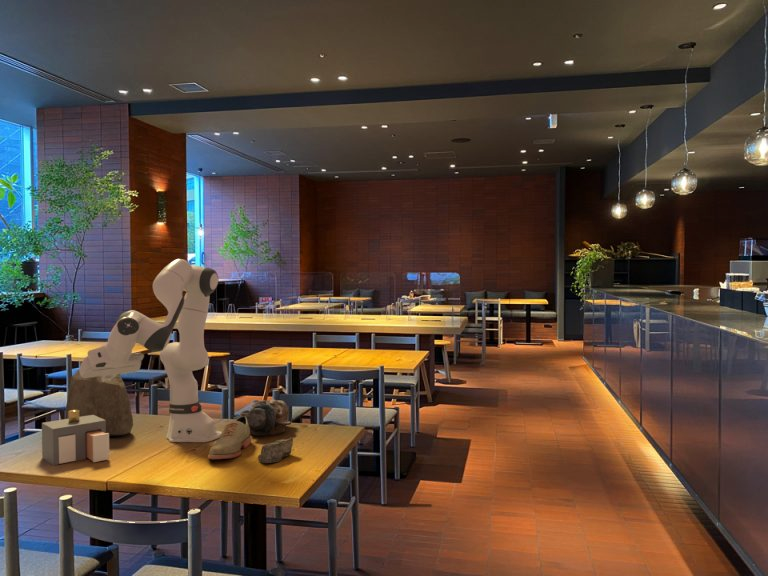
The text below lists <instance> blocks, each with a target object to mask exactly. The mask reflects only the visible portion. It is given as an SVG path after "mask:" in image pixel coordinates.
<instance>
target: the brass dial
mask: <svg viewBox="0 0 768 576" xmlns="http://www.w3.org/2000/svg"><path fill="white" fill-rule="evenodd" d="M68 414H69V423H75V422H79V410H70V411H68Z"/></svg>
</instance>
